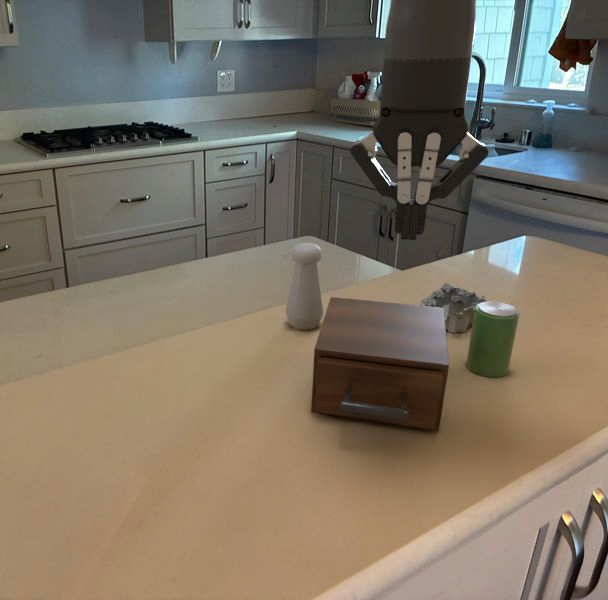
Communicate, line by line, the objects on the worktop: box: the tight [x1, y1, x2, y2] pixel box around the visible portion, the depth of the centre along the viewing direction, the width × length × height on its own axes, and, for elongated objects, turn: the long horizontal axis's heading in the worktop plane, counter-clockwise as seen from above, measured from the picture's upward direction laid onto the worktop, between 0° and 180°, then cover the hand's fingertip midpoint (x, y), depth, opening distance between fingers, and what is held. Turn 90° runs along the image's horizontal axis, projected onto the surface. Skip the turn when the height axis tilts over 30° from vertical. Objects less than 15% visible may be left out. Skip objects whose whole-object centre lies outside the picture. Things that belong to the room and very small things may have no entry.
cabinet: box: [310, 296, 450, 431], centre depth 77 cm, size 16×15×9 cm
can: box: [465, 300, 520, 378], centre depth 81 cm, size 5×5×9 cm
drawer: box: [314, 356, 443, 430], centre depth 74 cm, size 19×13×7 cm
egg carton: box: [420, 282, 487, 334], centre depth 96 cm, size 11×8×4 cm
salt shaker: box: [285, 242, 324, 331], centre depth 94 cm, size 6×6×13 cm
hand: (408, 237), depth 62 cm, fingers closed
